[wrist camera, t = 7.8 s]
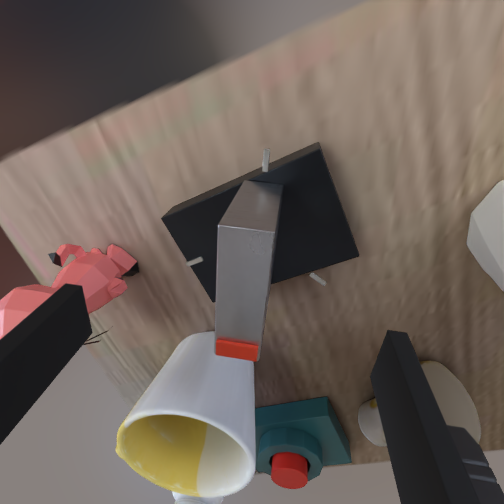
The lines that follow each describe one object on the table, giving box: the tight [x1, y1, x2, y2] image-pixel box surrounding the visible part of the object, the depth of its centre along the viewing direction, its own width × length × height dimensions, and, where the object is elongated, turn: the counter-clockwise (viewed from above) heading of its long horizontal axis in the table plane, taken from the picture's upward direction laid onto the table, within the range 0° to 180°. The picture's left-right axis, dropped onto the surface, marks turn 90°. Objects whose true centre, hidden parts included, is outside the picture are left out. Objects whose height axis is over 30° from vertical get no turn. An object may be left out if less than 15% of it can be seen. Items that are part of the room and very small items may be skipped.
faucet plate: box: [161, 142, 359, 303], centre depth 23 cm, size 12×11×3 cm
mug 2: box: [358, 360, 481, 446], centre depth 28 cm, size 8×10×10 cm
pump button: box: [271, 452, 308, 489], centre depth 32 cm, size 4×4×2 cm
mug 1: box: [116, 331, 256, 498], centre depth 28 cm, size 14×10×10 cm
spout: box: [214, 180, 284, 362], centre depth 19 cm, size 8×3×8 cm, turn 175°
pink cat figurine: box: [0, 244, 139, 345], centre depth 23 cm, size 7×7×12 cm
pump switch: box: [255, 397, 352, 481], centre depth 34 cm, size 11×8×4 cm
